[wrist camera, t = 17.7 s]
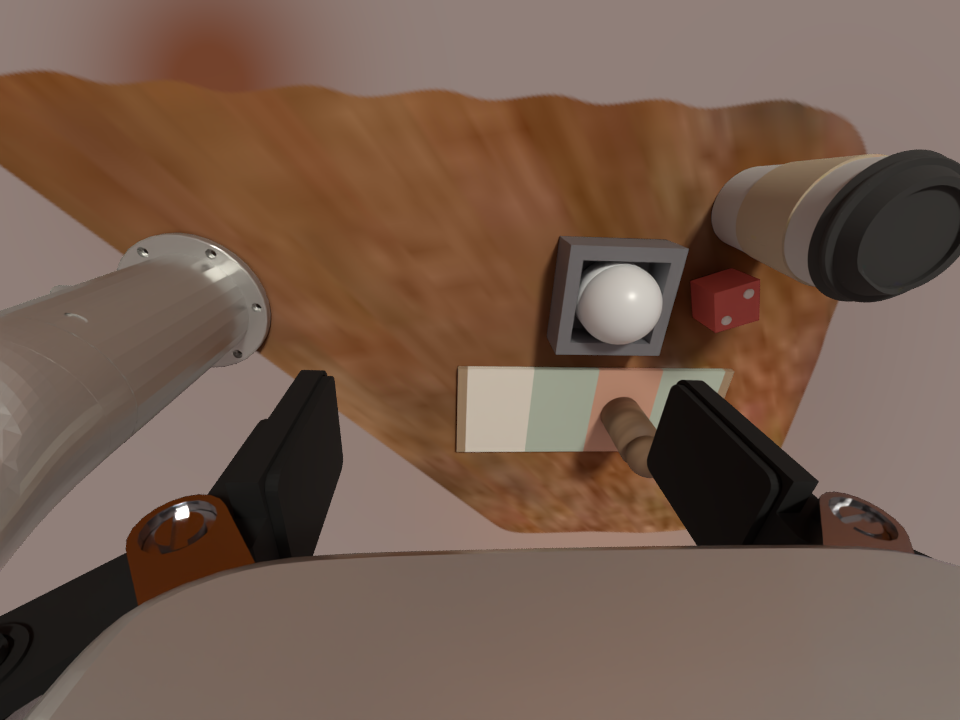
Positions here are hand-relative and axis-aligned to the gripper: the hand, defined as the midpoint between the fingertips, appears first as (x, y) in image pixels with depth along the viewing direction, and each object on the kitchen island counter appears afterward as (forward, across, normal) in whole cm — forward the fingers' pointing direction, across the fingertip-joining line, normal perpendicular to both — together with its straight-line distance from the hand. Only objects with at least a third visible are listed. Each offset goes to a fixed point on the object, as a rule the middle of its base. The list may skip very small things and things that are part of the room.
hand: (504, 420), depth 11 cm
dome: (+27, -14, +4) cm, 30 cm away
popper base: (+27, -14, +4) cm, 31 cm away
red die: (+27, -25, +4) cm, 37 cm away
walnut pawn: (+27, -18, +18) cm, 37 cm away
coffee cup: (+27, -26, -4) cm, 38 cm away
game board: (+27, -15, +18) cm, 36 cm away
